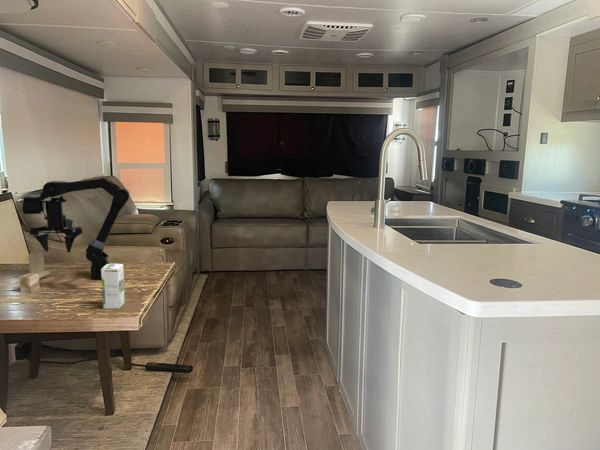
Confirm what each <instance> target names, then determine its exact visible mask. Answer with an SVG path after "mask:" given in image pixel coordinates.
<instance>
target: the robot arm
mask: <svg viewBox="0 0 600 450" xmlns="http://www.w3.org/2000/svg"><path fill="white" fill-rule="evenodd" d="M95 189H103V190H104V191H105V192H107V193H108V194H109V195H110V196H112V200H111V201H112V202H111V205H110V209H109V210H108V213H107V215H106V217H105V219H104V222H103V223H102V225H101V228H100V230H99V231H98V234H97V236H96V238H95V239H94V240H93V239H92V238H91V239H90V240H89V242H88V246H87V247H86V248H85V252H86V253H85V258H86V260H88V261H89V262H91V266H90V277H89V280H97V281H98V280H101V281H102V278H101V269H102V268H103V267H104V266H105V265H107V264H111V262H109V261H108V259H109V254H107V253H106V252H105V251H104V249H105V245H106V241H107V239H108V236H109V235H110V232H111V230H112V228H113V225H114V224H115V222H116V219H117V217H118V215H119V213H120V211H121V210H122V209H123V207H124V206H125V204H126V203H127V202H128V201H129V199H130V194H131V193H130V191H129V190H128V189H127V188H126V187H120V186H119V185H117V184H116V183H114V182H112V181H110V180H109V179H108V178H107V177H106V176H105V177H100V178H98V177H97V178H92V179H83V180H82V179H81V180H75V181H65V180H64V181H63V180H51V181H48V182H46V183H45V184H44V185H43V187H42V191H41V193H40V194H39V196H24V197H22V198H23V200H22V201H23V202H22V207H21V208H22V212H23V214H24V215H40V214H41V215H42V214H43V213H42V212H45V213H46V216H44V219H43V220H46V225H36V226H31V227H30V229H29V235H30V236H32V237H33V238H35V239H36V240H37V241H38V243H39V244H40V245H41V247H42V248H43V249H44V251H45V252H49V242H48V241H49V239H48V236H49V234H64V235H65V236H64V242H65V247H66V248H65V249H66V252H67V253H71V252H72V251H71V250H72V248H73V247H72V246H73V243H74V241H75V239H76V238H77V237H79V236H80V235H83V228H82V227H81V226H73V222H74V220H72V219H70V218H69V219H68V218H67V217H66V214H64V213H63V211H64V210H63V203H66V202H68V199H67V198H66V197H64V195H65V194H68V193H70V192H71V193H72V192H79V191H85V190H86V191H87V190H95ZM60 195H61V196H60ZM57 196H60V197H57ZM48 198H50V199H49V200H48Z"/></svg>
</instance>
